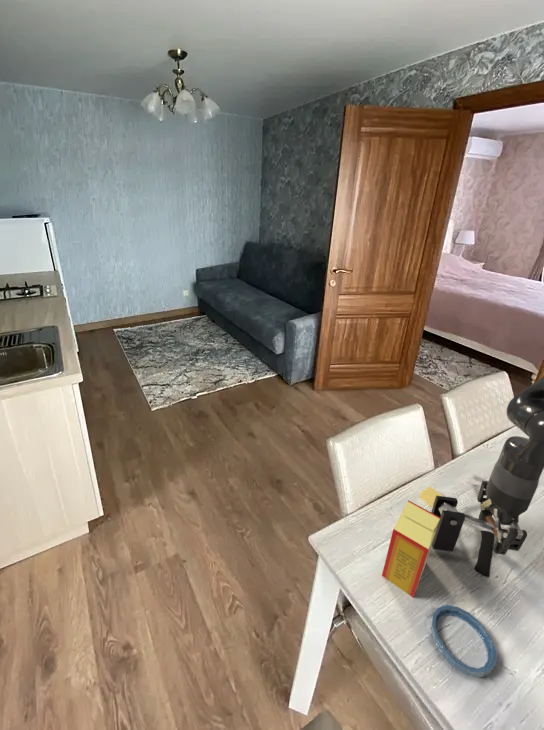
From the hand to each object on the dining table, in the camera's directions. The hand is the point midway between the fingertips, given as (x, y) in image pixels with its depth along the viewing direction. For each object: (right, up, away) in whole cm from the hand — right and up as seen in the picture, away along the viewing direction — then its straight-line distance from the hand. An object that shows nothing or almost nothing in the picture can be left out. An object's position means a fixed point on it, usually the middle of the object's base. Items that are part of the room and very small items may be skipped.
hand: (490, 537), depth 80 cm
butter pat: (-6, +1, +14) cm, 16 cm away
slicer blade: (-6, +4, 0) cm, 7 cm away
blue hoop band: (-17, -11, -15) cm, 25 cm away
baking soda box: (-21, -6, -3) cm, 23 cm away
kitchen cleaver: (+3, -2, +9) cm, 9 cm away
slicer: (-10, -4, +3) cm, 11 cm away
